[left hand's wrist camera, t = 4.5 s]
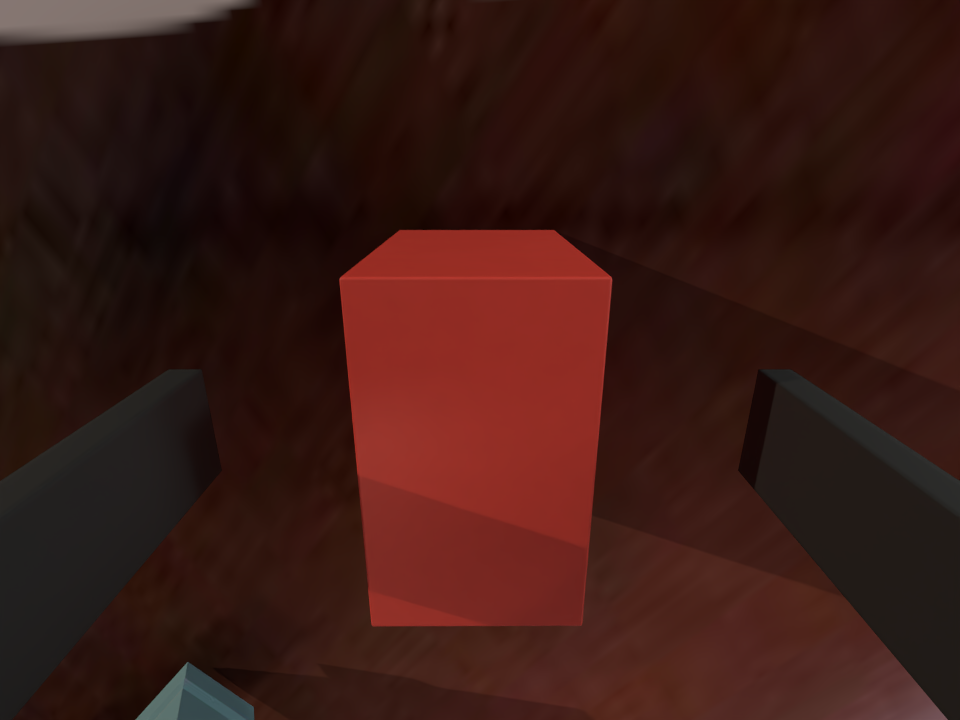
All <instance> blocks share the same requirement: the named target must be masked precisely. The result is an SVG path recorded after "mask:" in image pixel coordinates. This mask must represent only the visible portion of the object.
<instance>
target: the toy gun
mask: <svg viewBox="0 0 960 720" xmlns="http://www.w3.org/2000/svg"><path fill="white" fill-rule="evenodd" d="M136 720H254V707H253V706H251V705H250V704H248V703H247V702H245V701H244V700H242V699H241V698H240V697H238V696H237V695H235V694H234V693H232V692H231V691H229V690H228V689H226V688H225V687H224V686H222V685H221V684H219V683H218V682H216V681H215V680H213V679H212V678H211V677H209V676H208V675H206V674H205V673H203V672H202V671H200V670H199V669H198V668H196V667H195V666H193V665H192V664H190V663H189V662H187V663H186V664H185V666H184V667H183V668H182V669H181V670H180V671H179V672H178V673H177V674H176V676H175V677H174V678H173V679H172V680H171V681H170V682H169V683H168V684H167V686H166V687H165V688H164V689H163V690H162V691H161V692H160V693H159V694H158V695H157V697H156V698H155V699H154V700H153V701H152V702H151V703H150V704H149V705H148V707H147V708H146V709H145V710H144V711H143V712H142V713H141V714H140V715H139V717H138V718H137V719H136Z"/></svg>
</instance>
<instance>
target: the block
mask: <svg viewBox="0 0 960 720" xmlns="http://www.w3.org/2000/svg"><path fill="white" fill-rule="evenodd" d="M611 289H612V277H611V276H609V275H608V274H607V273H606V272H605V271H603V270H602V269H601V268H600V267H598V266H597V265H596V264H595V263H593V262H592V261H591V260H590V259H589V258H587V257H586V256H585V255H584V254H582V253H581V252H580V251H579V250H578V249H576V248H575V247H574V246H573V245H571V244H570V243H569V242H568V241H567V240H565V239H564V238H563V237H562V236H560V235H559V234H558V233H557V232H556V231H554V230H400V231H398V232H397V233H396V234H394V235H393V236H392V237H391V238H389V239H388V240H387V241H386V242H384V243H383V244H382V245H380V246H379V247H378V248H377V249H375V250H374V251H373V252H372V253H370V254H369V255H368V256H367V257H365V258H364V259H363V260H362V261H360V262H359V263H358V264H357V265H355V266H354V267H353V268H351V269H350V270H349V271H348V272H346V273H345V274H344V275H343V276H341V277H340V291H341V302H342V313H343V323H344V334H345V345H346V356H347V366H348V377H349V388H350V398H351V409H352V420H353V431H354V441H355V452H356V463H357V474H358V484H359V495H360V506H361V516H362V527H363V538H364V549H365V559H366V570H367V581H368V591H369V602H370V613H371V624H372V626H580V625H582V619H583V608H584V597H585V585H586V574H587V562H588V551H589V540H590V528H591V517H592V505H593V494H594V483H595V471H596V460H597V448H598V437H599V426H600V414H601V403H602V391H603V380H604V369H605V357H606V346H607V334H608V323H609V312H610V300H611Z"/></svg>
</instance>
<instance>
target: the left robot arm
mask: <svg viewBox="0 0 960 720" xmlns="http://www.w3.org/2000/svg"><path fill="white" fill-rule="evenodd" d="M221 471H222V469H221V464H220V459H219V454H218V449H217V444H216V439H215V434H214V430H213V425H212V420H211V415H210V410H209V405H208V400H207V395H206V390H205V385H204V380H203V375H202V370H168V371H166V372H164V373H163V374H161V375H160V376H158V377H157V378H155V379H154V380H152V381H151V382H149V383H148V384H146V385H145V386H143V387H142V388H140V389H139V390H137V391H136V392H134V393H133V394H131V395H130V396H128V397H127V398H125V399H124V400H122V401H121V402H119V403H118V404H116V405H115V406H113V407H112V408H110V409H109V410H107V411H106V412H104V413H103V414H101V415H100V416H98V417H97V418H95V419H94V420H92V421H91V422H89V423H87V424H86V425H84V426H83V427H81V428H80V429H78V430H77V431H75V432H74V433H72V434H71V435H69V436H68V437H66V438H65V439H63V440H62V441H60V442H59V443H57V444H56V445H54V446H53V447H51V448H50V449H48V450H47V451H45V452H44V453H42V454H41V455H39V456H38V457H36V458H35V459H33V460H32V461H30V462H29V463H27V464H26V465H24V466H23V467H21V468H20V469H18V470H17V471H15V472H14V473H12V474H10V475H9V476H7V477H6V478H4V479H3V480H1V481H0V720H12V719H13V718H14V717H15V716H16V714H17V713H18V712H19V711H20V710H21V708H22V707H23V706H24V705H25V704H26V702H27V701H28V700H29V699H30V698H31V697H32V695H33V694H34V693H35V692H36V691H37V689H38V688H39V687H40V686H41V685H42V683H43V682H44V681H45V680H46V679H47V678H48V676H49V675H50V674H51V673H52V672H53V670H54V669H55V668H56V667H57V666H58V664H59V663H60V662H61V661H62V660H63V658H64V657H65V656H66V655H67V654H68V653H69V651H70V650H71V649H72V648H73V647H74V645H75V644H76V643H77V642H78V641H79V639H80V638H81V637H82V636H83V635H84V634H85V632H86V631H87V630H88V629H89V628H90V626H91V625H92V624H93V623H94V622H95V620H96V619H97V618H98V617H99V616H100V615H101V613H102V612H103V611H104V610H105V609H106V607H107V606H108V605H109V604H110V603H111V601H112V600H113V599H114V598H115V597H116V596H117V594H118V593H119V592H120V591H121V590H122V588H123V587H124V586H125V585H126V584H127V582H128V581H129V580H130V579H131V578H132V576H133V575H134V574H135V573H136V572H137V571H138V569H139V568H140V567H141V566H142V565H143V563H144V562H145V561H146V560H147V559H148V557H149V556H150V555H151V554H152V553H153V552H154V550H155V549H156V548H157V547H158V546H159V544H160V543H161V542H162V541H163V540H164V538H165V537H166V536H167V535H168V534H169V533H170V531H171V530H172V529H173V528H174V527H175V525H176V524H177V523H178V522H179V521H180V519H181V518H182V517H183V516H184V515H185V514H186V512H187V511H188V510H189V509H190V508H191V506H192V505H193V504H194V503H195V502H196V500H197V499H198V498H199V497H200V496H201V494H202V493H203V492H204V491H205V490H206V489H207V487H208V486H209V485H210V484H211V483H212V481H213V480H214V479H215V478H216V477H217V475H218V474H219V473H220V472H221ZM738 471H739V472H740V473H741V474H742V475H743V477H744V478H745V479H746V480H747V481H748V483H749V484H750V485H751V486H752V487H753V489H754V490H755V491H756V492H757V493H758V494H759V496H760V497H761V498H762V499H763V500H764V502H765V503H766V504H767V505H768V506H769V508H770V509H771V510H772V511H773V512H774V514H775V515H776V516H777V517H778V518H779V519H780V521H781V522H782V523H783V524H784V525H785V527H786V528H787V529H788V530H789V531H790V533H791V534H792V535H793V536H794V537H795V538H796V540H797V541H798V542H799V543H800V544H801V546H802V547H803V548H804V549H805V550H806V552H807V553H808V554H809V555H810V556H811V557H812V559H813V560H814V561H815V562H816V563H817V565H818V566H819V567H820V568H821V569H822V571H823V572H824V573H825V574H826V575H827V576H828V578H829V579H830V580H831V581H832V582H833V584H834V585H835V586H836V587H837V588H838V590H839V591H840V592H841V593H842V594H843V596H844V597H845V598H846V599H847V600H848V601H849V603H850V604H851V605H852V606H853V607H854V609H855V610H856V611H857V612H858V613H859V615H860V616H861V617H862V618H863V619H864V620H865V622H866V623H867V624H868V625H869V626H870V628H871V629H872V630H873V631H874V632H875V634H876V635H877V636H878V637H879V638H880V639H881V641H882V642H883V643H884V644H885V645H886V647H887V648H888V649H889V650H890V651H891V653H892V654H893V655H894V656H895V657H896V658H897V660H898V661H899V662H900V663H901V664H902V666H903V667H904V668H905V669H906V670H907V672H908V673H909V674H910V675H911V676H912V678H913V679H914V680H915V681H916V682H917V683H918V685H919V686H920V687H921V688H922V689H923V691H924V692H925V693H926V694H927V695H928V697H929V698H930V699H931V700H932V701H933V702H934V704H935V705H936V706H937V707H938V708H939V710H940V711H941V712H942V713H943V714H944V716H945V717H946V718H947V719H948V720H960V480H957V479H956V478H954V477H953V476H951V475H950V474H948V473H946V472H945V471H943V470H942V469H940V468H939V467H937V466H936V465H934V464H933V463H931V462H930V461H928V460H927V459H925V458H924V457H922V456H921V455H919V454H918V453H916V452H915V451H913V450H912V449H910V448H909V447H907V446H906V445H904V444H903V443H901V442H900V441H898V440H897V439H895V438H894V437H892V436H891V435H889V434H888V433H886V432H885V431H883V430H882V429H880V428H879V427H877V426H876V425H874V424H873V423H871V422H869V421H868V420H866V419H865V418H863V417H862V416H860V415H859V414H857V413H856V412H854V411H853V410H851V409H850V408H848V407H847V406H845V405H844V404H842V403H841V402H839V401H838V400H836V399H835V398H833V397H832V396H830V395H829V394H827V393H826V392H824V391H823V390H821V389H820V388H818V387H817V386H815V385H814V384H812V383H811V382H809V381H808V380H806V379H805V378H803V377H802V376H800V375H799V374H797V373H796V372H794V371H792V370H758V375H757V380H756V385H755V390H754V395H753V400H752V405H751V410H750V415H749V420H748V425H747V430H746V434H745V439H744V444H743V449H742V454H741V459H740V464H739V469H738Z"/></svg>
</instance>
